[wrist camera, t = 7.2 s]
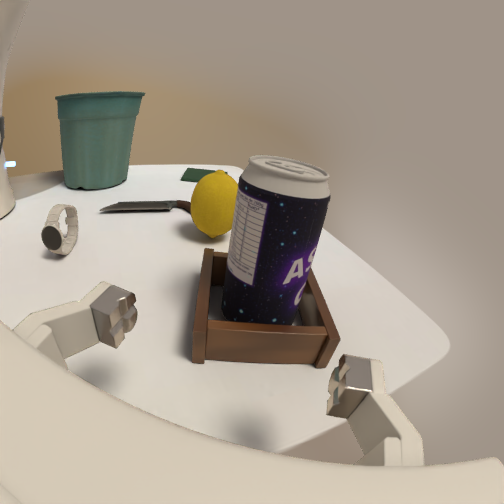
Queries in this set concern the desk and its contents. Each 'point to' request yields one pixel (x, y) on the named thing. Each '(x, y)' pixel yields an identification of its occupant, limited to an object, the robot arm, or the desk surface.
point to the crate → (262, 327)
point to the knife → (148, 205)
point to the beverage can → (273, 239)
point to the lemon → (214, 203)
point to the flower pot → (97, 136)
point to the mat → (195, 174)
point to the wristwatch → (53, 234)
